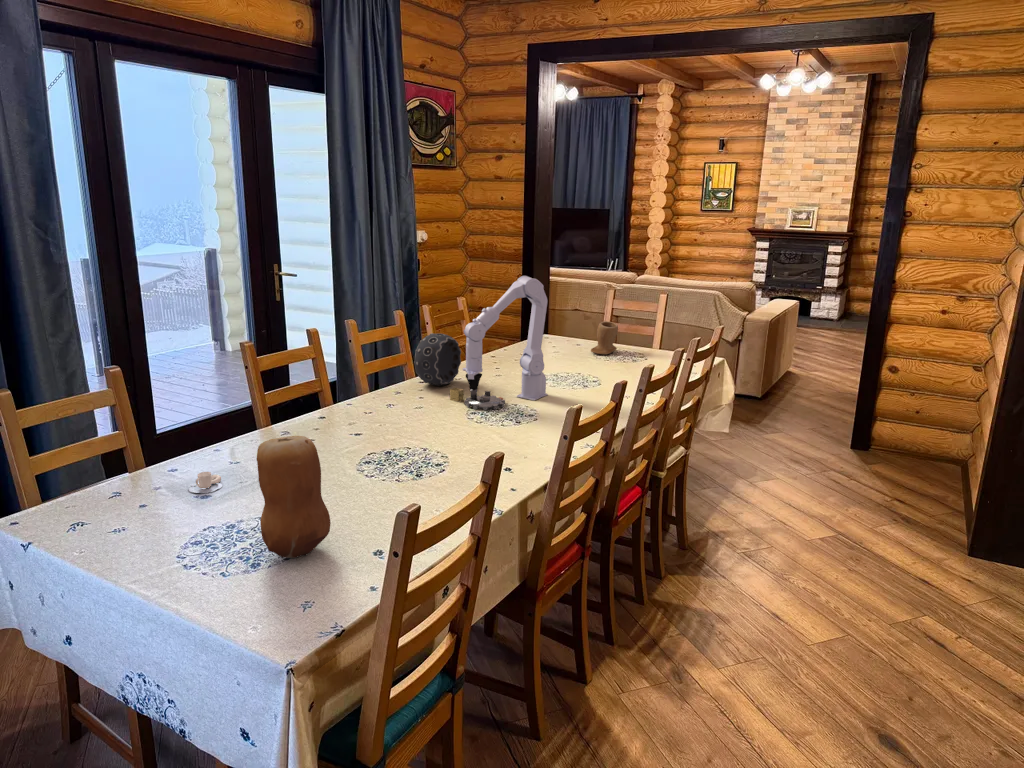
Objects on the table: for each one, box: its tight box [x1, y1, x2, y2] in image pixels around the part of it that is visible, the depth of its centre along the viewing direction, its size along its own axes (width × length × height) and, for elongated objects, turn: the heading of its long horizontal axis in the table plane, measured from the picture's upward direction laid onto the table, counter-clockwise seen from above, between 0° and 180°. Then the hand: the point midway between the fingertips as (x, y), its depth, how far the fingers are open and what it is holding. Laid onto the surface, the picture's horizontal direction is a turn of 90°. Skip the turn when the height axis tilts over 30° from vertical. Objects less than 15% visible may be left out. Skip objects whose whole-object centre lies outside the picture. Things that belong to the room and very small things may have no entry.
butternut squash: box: [256, 435, 331, 559], centre depth 138 cm, size 14×13×25 cm
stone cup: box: [590, 320, 619, 355], centre depth 328 cm, size 15×12×15 cm
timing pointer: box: [484, 390, 492, 396], centre depth 253 cm, size 1×2×2 cm, turn 85°
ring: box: [413, 333, 462, 387], centre depth 267 cm, size 11×20×20 cm, turn 153°
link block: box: [449, 387, 465, 403], centre depth 250 cm, size 4×3×4 cm
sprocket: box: [463, 388, 506, 411], centre depth 244 cm, size 14×14×5 cm
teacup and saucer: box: [195, 471, 222, 489], centre depth 172 cm, size 9×8×4 cm
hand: (473, 393), depth 248 cm, fingers closed, pressing on sprocket
